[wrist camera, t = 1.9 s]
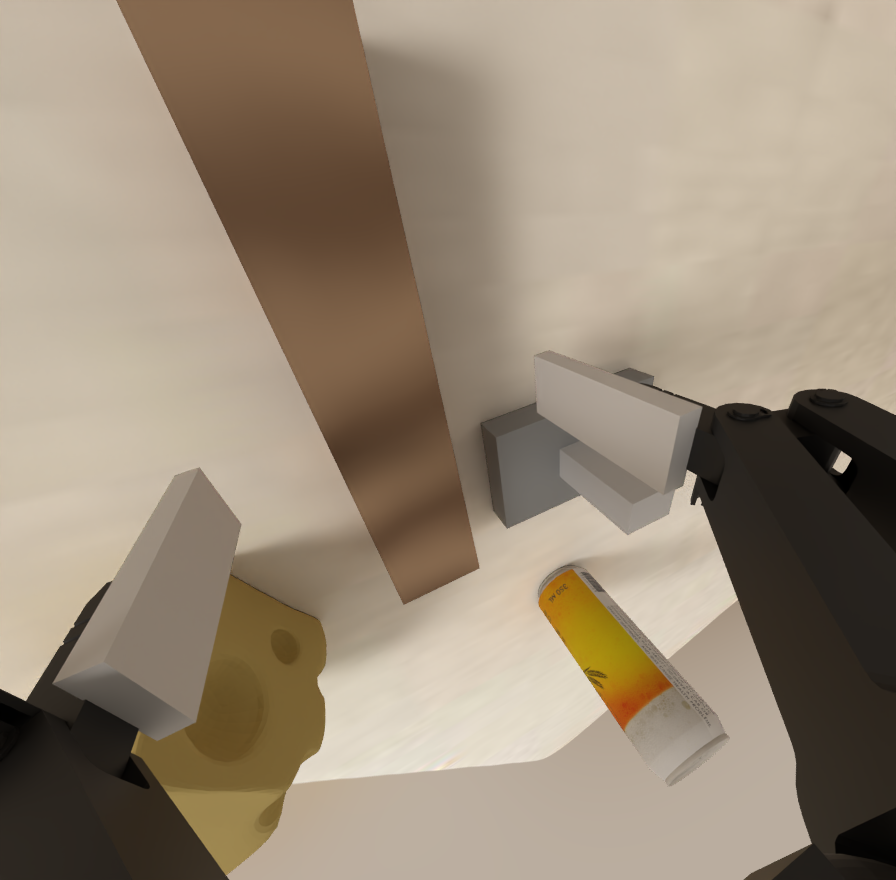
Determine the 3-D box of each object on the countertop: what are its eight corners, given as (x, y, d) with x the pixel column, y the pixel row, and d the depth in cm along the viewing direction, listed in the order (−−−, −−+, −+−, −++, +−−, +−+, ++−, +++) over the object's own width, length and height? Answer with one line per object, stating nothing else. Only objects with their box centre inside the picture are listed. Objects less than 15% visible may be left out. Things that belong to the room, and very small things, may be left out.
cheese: (325, 618, 25) (340, 798, 17) (200, 706, 24) (152, 937, 16) (203, 548, 19) (130, 780, 10) (32, 665, 18) (-183, 1004, 10)
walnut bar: (166, 56, 11) (84, -65, 7) (322, 39, 12) (336, -72, 8) (385, 544, 24) (403, 604, 20) (449, 516, 25) (479, 568, 21)
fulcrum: (480, 423, 21) (560, 498, 15) (630, 367, 24) (752, 411, 18) (493, 511, 26) (559, 598, 19) (618, 456, 28) (713, 517, 22)
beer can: (523, 604, 34) (648, 800, 22) (554, 560, 32) (708, 746, 20) (562, 603, 37) (691, 775, 25) (592, 562, 35) (747, 726, 23)
